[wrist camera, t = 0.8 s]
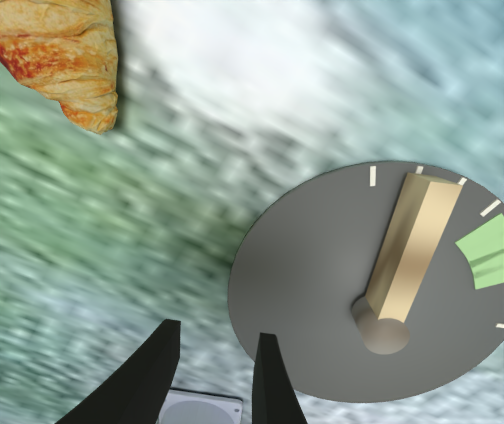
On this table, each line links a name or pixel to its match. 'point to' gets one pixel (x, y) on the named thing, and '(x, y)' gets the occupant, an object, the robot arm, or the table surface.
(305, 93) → the table surface
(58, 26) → the croissant
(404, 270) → the pointer
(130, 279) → the table surface
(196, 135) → the table surface
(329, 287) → the dial
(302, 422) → the robot arm
